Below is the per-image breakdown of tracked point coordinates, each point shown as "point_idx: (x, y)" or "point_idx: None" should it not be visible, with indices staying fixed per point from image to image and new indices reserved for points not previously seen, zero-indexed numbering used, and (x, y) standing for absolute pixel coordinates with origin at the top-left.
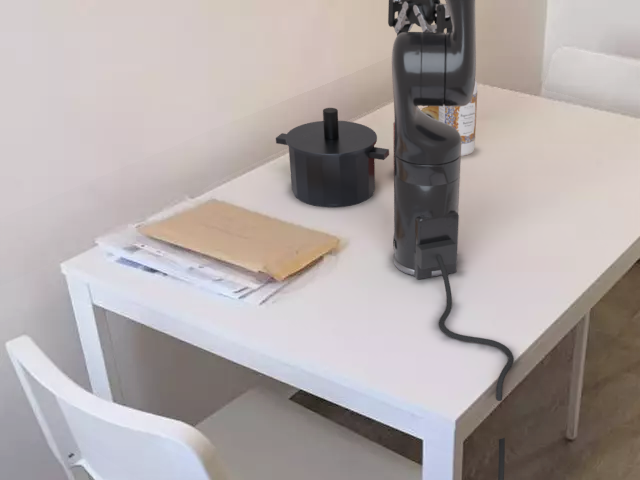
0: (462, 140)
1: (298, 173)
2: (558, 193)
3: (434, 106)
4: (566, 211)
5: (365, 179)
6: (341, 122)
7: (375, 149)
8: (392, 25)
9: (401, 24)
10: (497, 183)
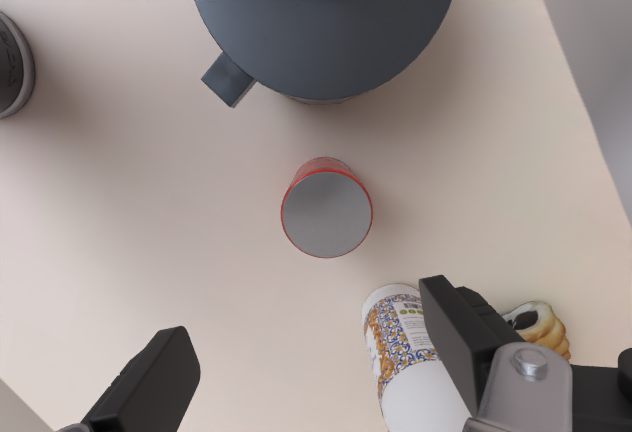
0: (365, 325)
1: None
2: None
3: None
4: (109, 351)
5: None
6: (419, 31)
7: (238, 71)
8: (620, 369)
9: (471, 425)
10: (237, 310)
